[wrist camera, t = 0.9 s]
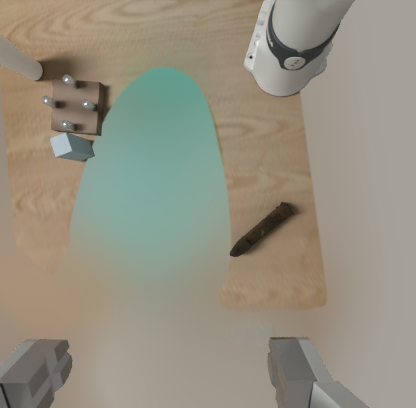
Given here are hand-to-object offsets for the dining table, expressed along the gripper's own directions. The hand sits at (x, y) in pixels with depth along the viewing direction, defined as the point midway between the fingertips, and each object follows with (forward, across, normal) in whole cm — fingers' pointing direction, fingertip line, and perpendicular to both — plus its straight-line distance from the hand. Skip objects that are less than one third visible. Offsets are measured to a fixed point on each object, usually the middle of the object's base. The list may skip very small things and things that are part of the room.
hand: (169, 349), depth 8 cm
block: (+51, +32, -9) cm, 61 cm away
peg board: (+53, +33, -20) cm, 65 cm away
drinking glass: (+56, +46, -30) cm, 78 cm away
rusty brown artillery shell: (+43, -15, +12) cm, 47 cm away
